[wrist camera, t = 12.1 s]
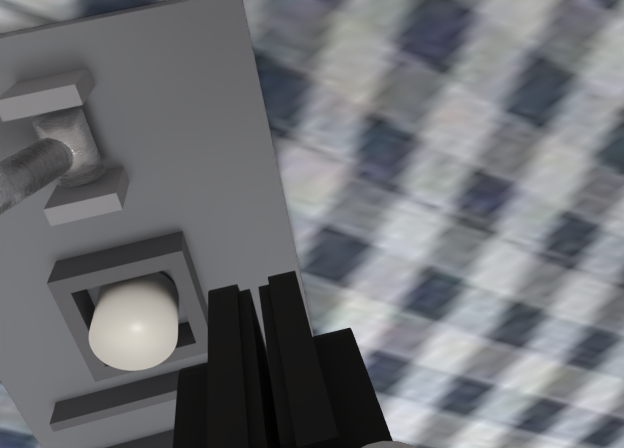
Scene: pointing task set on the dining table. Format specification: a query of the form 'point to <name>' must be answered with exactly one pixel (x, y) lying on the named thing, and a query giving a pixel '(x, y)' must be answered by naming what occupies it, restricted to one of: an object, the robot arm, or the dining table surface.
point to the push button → (135, 322)
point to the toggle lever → (51, 157)
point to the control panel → (133, 207)
